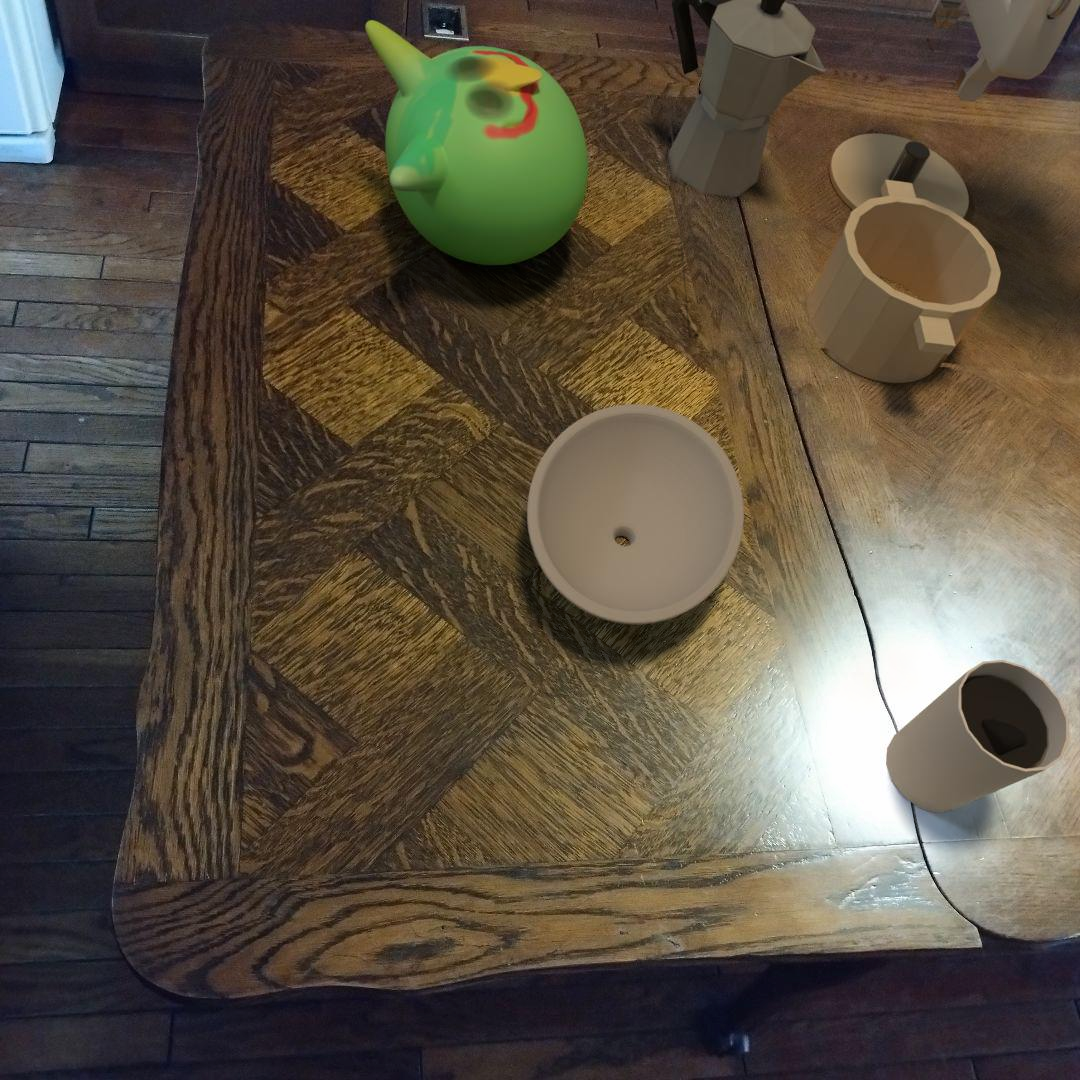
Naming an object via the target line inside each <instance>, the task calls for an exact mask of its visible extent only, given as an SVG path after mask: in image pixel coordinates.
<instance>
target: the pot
mask: <svg viewBox="0 0 1080 1080" xmlns="http://www.w3.org/2000/svg"><path fill="white" fill-rule="evenodd" d="M881 193H882V197H878V198H873V199H869V200H867V201H866V202H864V203H863V204H861V205H860V206H859V207H857V208H856V209H854V210H852V211H851V212H850V214H849V215H848V217H847V219H846V221H845V223H844V224H843V227H842V228H841V230H840V232H839V234H838V236H837V237H836V240H835V242H834V243H833V245H832V247H831V249H830V251H829V253H828V254H827V256H826V258H825V260H824V262H823V264H822V266H821V268H820V270H819V271H818V273H817V275H816V277H815V279H814V281H813V283H812V285H811V288H810V290H809V293H808V295H807V298H806V301H805V304H806V310H807V317H808V321H809V324H810V327H811V328H812V329H813V332H814V333H815V334H816V336H817V337H818V338H819V340H820V342H821V343H822V345H823V346H824V347H821V349H822V351H823V352H824V353H825V354H827V356H828V357H830V358H831V359H832V360H833V361H834V362H836V363H837V364H839V365H840V366H842V367H843V368H845V369H847V370H848V371H850V372H852V373H854V374H856V375H858V376H861V377H864V378H866V379H869V380H874V381H875V382H876V381H877V382H882V383H891V384H906V383H911V382H916V381H919V380H922V379H924V378H926V377H928V376H930V375H931V374H933V373H934V372H935V371H936V370H937V369H939V367H940V366H941V365H942V364H943V363H944V362H946V360H947V358H948V357H949V356H950V355H951V354H952V352H953V351H954V349H955V348H956V347H957V345H958V344H959V343H960V341H961V340H962V339H963V338H964V336H965V335H966V333H967V332H968V331H969V329H970V328H971V327H972V325H973V324H974V323H975V322H976V320H977V319H978V318H979V316H980V315H981V314H982V312H983V311H984V310H985V309H986V307H987V306H988V305H989V303H990V302H991V301H992V299H993V298H994V296H996V294H997V291H998V288H999V283H1000V279H1001V276H1002V275H1001V274H1002V272H1001V268H1000V265H999V262H998V259H997V254H996V252H995V250H994V248H993V247H992V245H991V244H990V243H989V241H988V240H987V239H986V238H985V237H984V235H983V234H982V233H981V232H980V230H979V229H978V228H977V227H976V226H974V225H973V224H972V223H970V222H969V221H967V220H966V219H965V218H964V217H963V218H962V217H960V216H959V215H958V214H956V213H955V212H953V211H952V210H950V209H947V208H945V207H943V206H940V205H938V204H935V203H933V202H930V201H928V200H925V199H921V198H916V195H915V192H914V188H913V184H912V183H907V182H900V181H892V180H885V182H884V183H883V185H882V187H881ZM881 278H883V279H886V280H888V281H891V282H893V283H895V284H898V285H900V286H903V287H904V288H905V289H907V290H908V291H909V292H911V293H912V294H914V295H915V296H916V297H913V296H911V295H909V294H907V293H903V292H901V291H898V290H896V289H895V288H894V287H892V286H891V285H889V284H888V283H887V282H886V281H884V280H883V279H881Z"/></svg>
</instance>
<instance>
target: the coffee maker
mask: <svg viewBox="0 0 1080 1080" xmlns="http://www.w3.org/2000/svg"><path fill="white" fill-rule="evenodd" d="M690 6H691V7H692V8H693V10H694V11H695V13H697V15H698V17H699V18H700V19H701V20H702V22H703V23H704V24H705V25H706V27H707V28H708V30H709V33H708V38H707V44H706V49H705V55H704V61H703V67H702V72H701V78H700V83H699V91H700V94H698V95H697V96H696V98H695V101H694V102H693V104H692V106H691V108H690V110H689V112H688V114H687V116H686V118H685V120H684V122H683V124H682V126H681V127H680V129H679V131H678V133H677V135H676V138H675V140H674V141H673V143H672V145H671V147H670V149H669V151H668V153H667V155H666V156H667V160H668V161H667V162H668V167H669V172H670V176H671V180H672V181H673V182H675V183H676V184H678V179H680V180H681V181H683V183H685V184H687V185H688V186H690V187H691V188H693V189H694V190H696V192H697V191H698V193H700V194H701V195H708V196H720V197H732V198H738V197H739V196H741V195H742V194H743V193H744V192H746V191H747V190H748V189H749V188H751V187H752V186H753V185H755V184H756V183H757V182H758V179H759V174H760V171H761V166H762V165H761V164H762V160H763V156H764V153H765V152H764V151H765V148H766V141H767V139H768V133H769V129H770V124H771V119H770V116H773V115H774V113H775V112H776V110H777V109H778V108H779V106H780V104H781V102H782V101H783V100H784V98H785V97H786V96H787V95H789V93H791V92H792V91H793V90H794V89H796V88H797V87H798V86H800V85H801V84H802V83H804V82H805V81H806V80H808V79H809V78H810V77H811V76H812V75H814V74H815V73H825V72H827V70H826V68H825V66H824V65H823V63H822V61H821V59H820V56H819V55H818V53H817V52H816V50H815V48H814V46H813V44H812V42H813V38H814V36H815V33H816V28H815V26H813V25H812V23H811V22H810V21H809V20H808V19H807V18H806V17H805V16H804V15H803V13H801V11H800V10H799V9H798V8H797V7H796V6H795V4H792V3H789V2H786V0H671V8H672V13H673V19H674V25H675V26H674V27H675V30H676V37H677V43H678V49H679V54H680V60H681V67H682V72H683V75H688V74H690V73H692V72H694V71H696V70H697V69H699V61H698V55H697V48H696V42H695V35H694V29H693V23H692V17H691V15H692V14H691V10H690Z"/></svg>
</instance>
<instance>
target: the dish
mask: <svg viewBox="0 0 1080 1080" xmlns="http://www.w3.org/2000/svg"><path fill="white" fill-rule="evenodd" d="M744 522H745V507H744V498H743V491H742V488H741V484H740V481H739V478H738V475H737V472H736V470H735V468H734V466H733V463H732V462H731V460H730V458H729V457H728V454H727V453H726V452H725V451H724V449H723V448H722V446H721V445H720V444H719V443H718V441H717V440H716V439H715V438H714V437H713V436H712V435H711V434H710V433H709V432H708V431H707V430H705V429H704V428H703V427H702V426H701V425H699V424H698V423H696V422H695V421H693V420H692V419H690V418H689V417H687V416H685V415H683V414H681V413H678V412H676V411H674V410H671V409H668V408H665V407H662V406H656V405H651V404H641V403H626V404H620V405H612V406H609V407H604V408H602V409H599V410H596V411H593V412H591V413H588V414H587V415H585V416H583V417H582V418H580V419H578V420H576V421H575V422H573V423H572V424H570V425H569V426H568V427H567V428H566V429H564V430H563V431H562V432H561V433H560V434H559V435H558V436H557V437H556V438H555V440H553V441H552V443H551V444H550V445H549V447H548V448H547V449H546V451H545V452H544V454H543V456H542V457H541V458H540V460H539V462H538V465H537V466H536V468H535V471H534V474H533V477H532V479H531V483H530V486H529V491H528V496H527V504H526V523H527V530H528V537H529V541H530V545H531V549H532V551H533V554H534V557H535V559H536V561H537V563H538V565H539V567H540V569H541V571H542V572H543V574H544V576H545V577H546V579H547V580H548V581H549V582H550V584H551V585H552V586H553V587H554V589H555V590H556V591H557V592H558V593H559V594H560V595H561V596H562V597H564V598H565V599H566V600H567V601H568V602H570V604H572V605H574V606H575V607H576V608H578V609H579V610H581V611H583V612H585V613H587V614H589V615H591V616H593V617H595V618H598V619H600V620H604V621H607V622H612V623H616V624H621V625H636V626H637V625H650V624H656V623H660V622H665V621H668V620H671V619H674V618H676V617H679V616H681V615H683V614H685V613H687V612H689V611H690V610H692V609H694V608H696V607H697V606H698V605H701V603H702V602H704V601H705V600H706V599H707V598H708V597H710V595H712V594H713V593H714V591H716V589H717V588H718V587H719V586H720V585H721V583H722V582H723V580H724V579H725V578H726V576H727V575H728V573H729V572H730V570H731V568H732V566H733V565H734V562H735V560H736V557H737V555H738V552H739V549H740V545H741V542H742V538H743V532H744ZM617 537H624V538H626V539H627V540H628V542H629V543H628V544H629V545H626V546H624V545H621V544H619V543H618V542H617V541H616V538H617Z"/></svg>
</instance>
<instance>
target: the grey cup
mask: <svg viewBox="0 0 1080 1080" xmlns="http://www.w3.org/2000/svg"><path fill="white" fill-rule="evenodd" d="M1070 732H1071V731H1070V719H1069V717H1068V714H1067V712H1066V710H1065V707H1064V705H1063V703H1062V700H1061V698H1060V697H1059V695H1058V694H1057V693H1056V692H1055V690H1053V688H1052V687H1051V686H1050V685H1049V684H1048V683H1047V681H1046V680H1045V679H1043V678H1042V677H1041V676H1039V675H1038V674H1037V673H1035V672H1033V671H1032V670H1031V669H1029V668H1028V667H1026V666H1025V665H1021V664H1017V663H1014V662H1011V661H1007V660H1004V659H999V660H987V661H981V662H980V663H978V664H977V665H975V666H973V667H972V668H970V669H968V670H967V671H966V672H965V673H964V674H963V675H961V676H960V677H959V678H958V679H957V680H956V681H954V682H953V683H952V684H951V685H950V686H949V687H948V688H946V689H945V690H944V691H943V692H942V693H941V694H940V695H939V696H937V697H936V698H935V699H934V700H933V701H932V702H931V703H929V704H928V705H927V706H926V707H925V708H924V709H923V710H921V711H920V712H919V713H918V714H917V715H915V716H914V717H913V718H912V719H911V720H909V722H907V724H905V725H904V726H903V727H902V728H901V729H899V731H897V732H896V733H895V734H894V735H893V737H892V739H891V740H890V742H889V744H888V746H887V748H886V761H885V762H886V763H885V765H886V767H887V771H888V774H889V776H890V780H891V783H893V785H894V787H895V788H896V789H897V790H898V792H899V793H900V794H901V796H902V797H903V798H905V799H906V800H907V801H908V802H910V803H912V804H913V805H914V806H916V807H917V808H918V809H923V810H926V811H929V812H932V813H943V812H950V811H951V812H952V811H953V810H956V809H959V808H960V807H962V806H965V805H967V804H969V803H972V802H975V801H976V800H979V799H981V798H984V797H986V796H989V795H991V794H993V793H996V792H998V791H1000V790H1002V789H1005V788H1007V787H1009V786H1012V785H1014V784H1016V783H1019V782H1021V781H1023V780H1025V779H1028V778H1030V777H1033V776H1035V775H1037V774H1040V773H1042V772H1044V771H1047V770H1048V769H1050V768H1051V767H1053V766H1054V765H1055V764H1057V763H1058V762H1059V761H1061V760H1063V757H1064V755H1065V754H1066V751H1067V749H1068V746H1069V744H1070V742H1071V736H1070V735H1071V734H1070Z"/></svg>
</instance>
